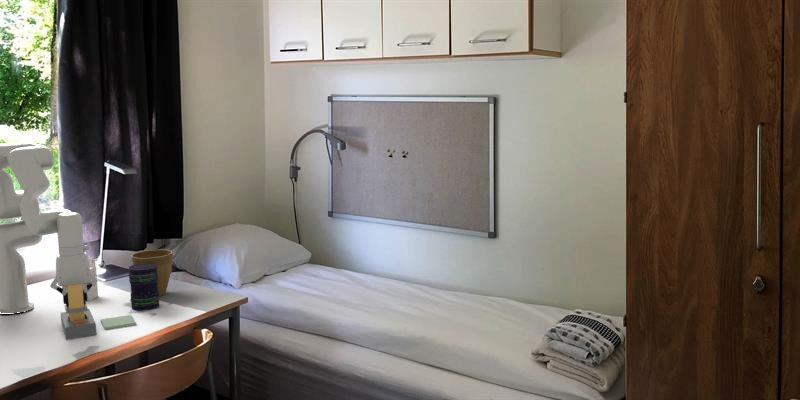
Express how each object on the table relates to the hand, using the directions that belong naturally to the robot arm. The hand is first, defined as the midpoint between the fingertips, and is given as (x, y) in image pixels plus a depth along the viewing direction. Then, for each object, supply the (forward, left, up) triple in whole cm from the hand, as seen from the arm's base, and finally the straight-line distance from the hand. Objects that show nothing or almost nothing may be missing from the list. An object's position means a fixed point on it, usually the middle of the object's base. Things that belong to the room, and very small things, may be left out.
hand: (75, 304), depth 257 cm
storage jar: (-15, +24, -9) cm, 30 cm away
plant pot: (-30, +30, -9) cm, 43 cm away
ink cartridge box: (-39, +6, -9) cm, 40 cm away
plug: (0, 0, -6) cm, 6 cm away
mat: (0, +13, -9) cm, 15 cm away
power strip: (0, 0, -9) cm, 9 cm away
